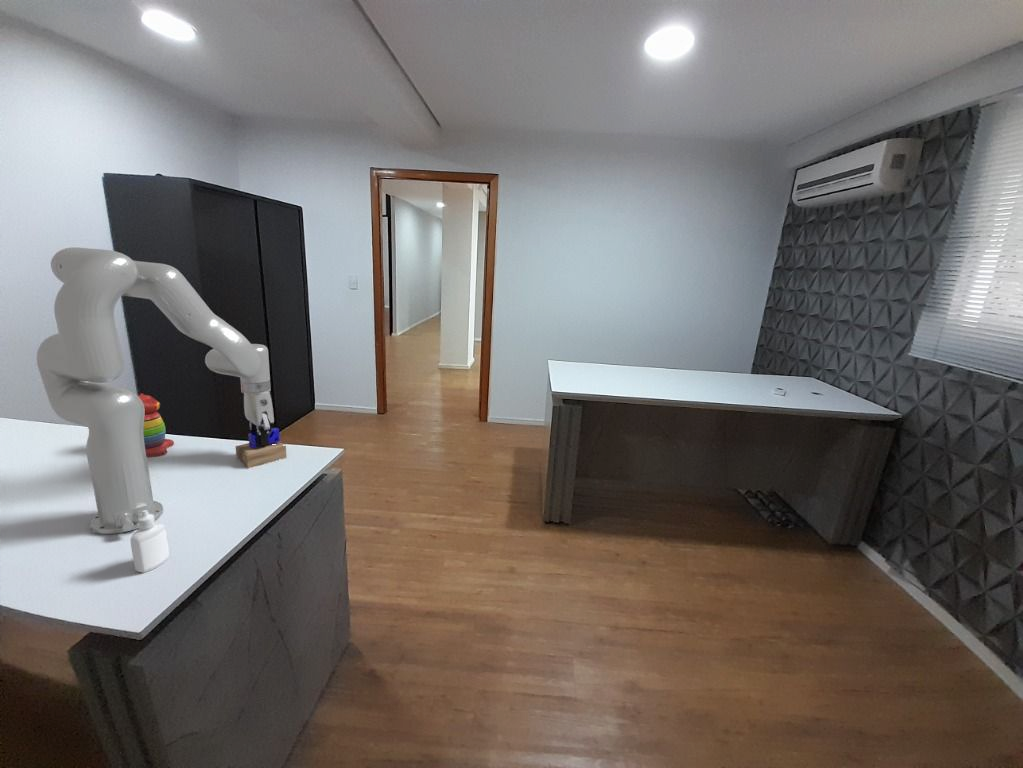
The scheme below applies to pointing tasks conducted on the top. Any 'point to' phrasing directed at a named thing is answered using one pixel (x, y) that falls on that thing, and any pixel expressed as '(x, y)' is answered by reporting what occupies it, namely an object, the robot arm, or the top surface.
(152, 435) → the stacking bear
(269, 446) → the plinth
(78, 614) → the top surface
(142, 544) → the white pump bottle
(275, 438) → the cable holder
